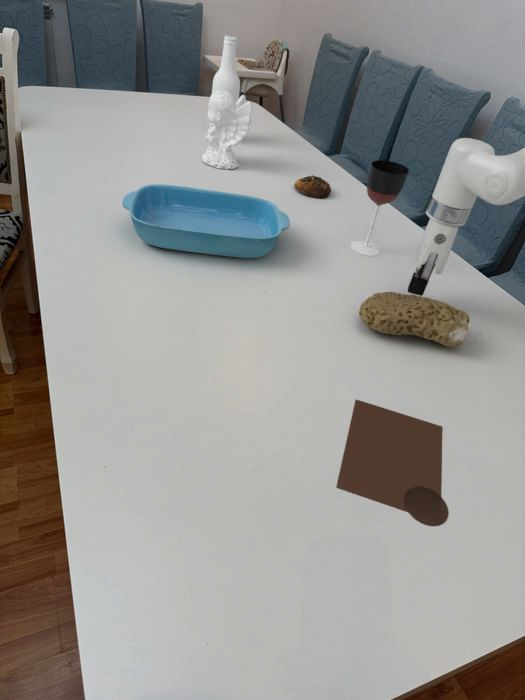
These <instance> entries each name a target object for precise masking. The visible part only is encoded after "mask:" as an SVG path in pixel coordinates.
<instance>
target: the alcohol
mask: <svg viewBox="0 0 525 700" xmlns="http://www.w3.org/2000/svg"><path fill="white" fill-rule="evenodd" d="M223 38H224V39H223V49H222V55H221V61H220V67H219V69H218V70H217V72H216V73H215V74H214V76H213V79H212V87H211V95H212V94H213V93H216V92H217V91H226V92H229V93H230V94H231V95H232V96H233V97H234V99H235V103H236V102H237V101H238V99H239V98H240V92H241V91H240V90H241V80H240V77H239V75H238V73H237V69H236V66H237V65H236V64H237V45H238V43H237V41H238V38H237V37H236V36H232V35H225V36H224V37H223ZM210 125H212V126H214V124H213V123H212V122H210V121H209V128H210ZM209 128H208V129H209Z"/></svg>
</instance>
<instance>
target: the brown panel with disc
mask: <svg viewBox="0 0 525 700" xmlns="http://www.w3.org/2000/svg"><path fill="white" fill-rule="evenodd" d="M442 464H443V426H442V425H438V424H436V423H433V422H429V421H426V420H423V419H420V418H417V417H414V416H411V415H407V414H404V413H401V412H397V411H395V410H391V409H388V408H385V407H382V406H379V405H376V404H372V403H369V402H366V401H363V400H359V399H357V398H356V399H355V401H354V405H353V410H352V415H351V419H350V424H349V428H348V432H347V438H346V442H345V446H344V451H343V455H342V460H341V464H340V469H339V472H338V473H339V474H338V478H337V483H336V486H335V487H336V489H339V490H342V491H344V492H347V493H350V494H353V495H356V496H360V497H361V498H365V499H368V500H370V501H373V502H377V503H379V504H383V505H385V506H389V507H391V508H394V509H397V510H400V511H402V512H406V513H408V514H409V515H410V516H411V518H413V520H415V521H417V522H418V523H420V524H422V525H425V526H428V527H438V526H442V525H443V524H445V523H446V522H447V520H448V519H449V507H448V505H447V503H446V501H445V499H444V498H443V497H442V476H443V474H442V473H443V472H442V468H443V467H442V466H443V465H442Z"/></svg>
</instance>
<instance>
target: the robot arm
mask: <svg viewBox="0 0 525 700" xmlns="http://www.w3.org/2000/svg"><path fill="white" fill-rule="evenodd" d="M441 168H442V169H441V171H440V174H439V176H438V179H437V180H436V181H437V182H436V184H435V187H434V190H433V192H432V194H431V197H430V200H429V203H428V205H427V208H426V210H425V214H426V216H427V217H428V218H429V220H428V222H427V225H426V228H425V230H424V233H423V236H422V239H421V241H420V245H419V249H418V253H417V261H416V268H415V271H414V272H413V274H412V276H411V278H410V281H409V283H408V286H407V293H409V294H412V295H416V296H420V297H423V295H424V293H425V291H426V289H427V286H428V283H430V282H429V281H430V278H431V276H432V273H433V271H434V272H435V274H437V275H441V274H442V273H443V271H444V268H445V265H446V263H447V260H448V258H449V256H450V253H451V250H452V248H453V245H454V243H455V239H456V237H457V234H458V230H459V228H460V227H463V226H465V225H466V223H467V221H468V219H469V216H470V214H471V211H472V210H473V207H474V205H475V203H476V200H477V198H480V199H481V200H483V201H484V202H486V203H488V204H491V205H494V206H504V205H508V204H511V203H513V202H516V201H517V200H519V199H521V198H523V197H525V147H523V148H522V149H520V150H518V151H516V152H512V153H510V154H507V155H506V154H505V155H504V154H503V155H496V151H495V149H494V147H493V146H492V145H490V144H489V143H487V142H485V141H482V140H479V139H475V138H470V137H461V138H457V139H455V140H454V141H453V142H452V143H451V145H450V147H449V150H448V153H447V155H446V158H445V161H444V163H443V166H442V167H441ZM434 269H435V270H434Z"/></svg>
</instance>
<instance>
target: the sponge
mask: <svg viewBox="0 0 525 700" xmlns="http://www.w3.org/2000/svg"><path fill="white" fill-rule="evenodd" d="M358 316H359V319H360V321H361V322H362V324H364V325H365V326H367V327H369V328H370V330H373V331H375V332H379V333H382V334H386V335H393V336H407V335H409V336H416V337H418V338H422V339H425V340H430V341H433V342H436V343H438V344H440V345H442V346H444V347H449V348H450V347H452V348H458V347H460V346H462V345H463V344H464V340H465V338H466V336H467V335H468V332H469V323H470V315H469V314H468V313H467V312H466V311H464V310H461V309H457V308H455V307H454V306H452V305H451V304H448V303H446V302H442V301H440V300H438V299H437V300H436V299H432V298H429V297H424V296H420V295H416V294H406V293H403V294H402V293H401V292H395V291H384V292H375V293H373V294H372V295H371V296H369V297H368V298H366V299H365V301H363V302H362V303H361V304H360V308H359V310H358Z"/></svg>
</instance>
